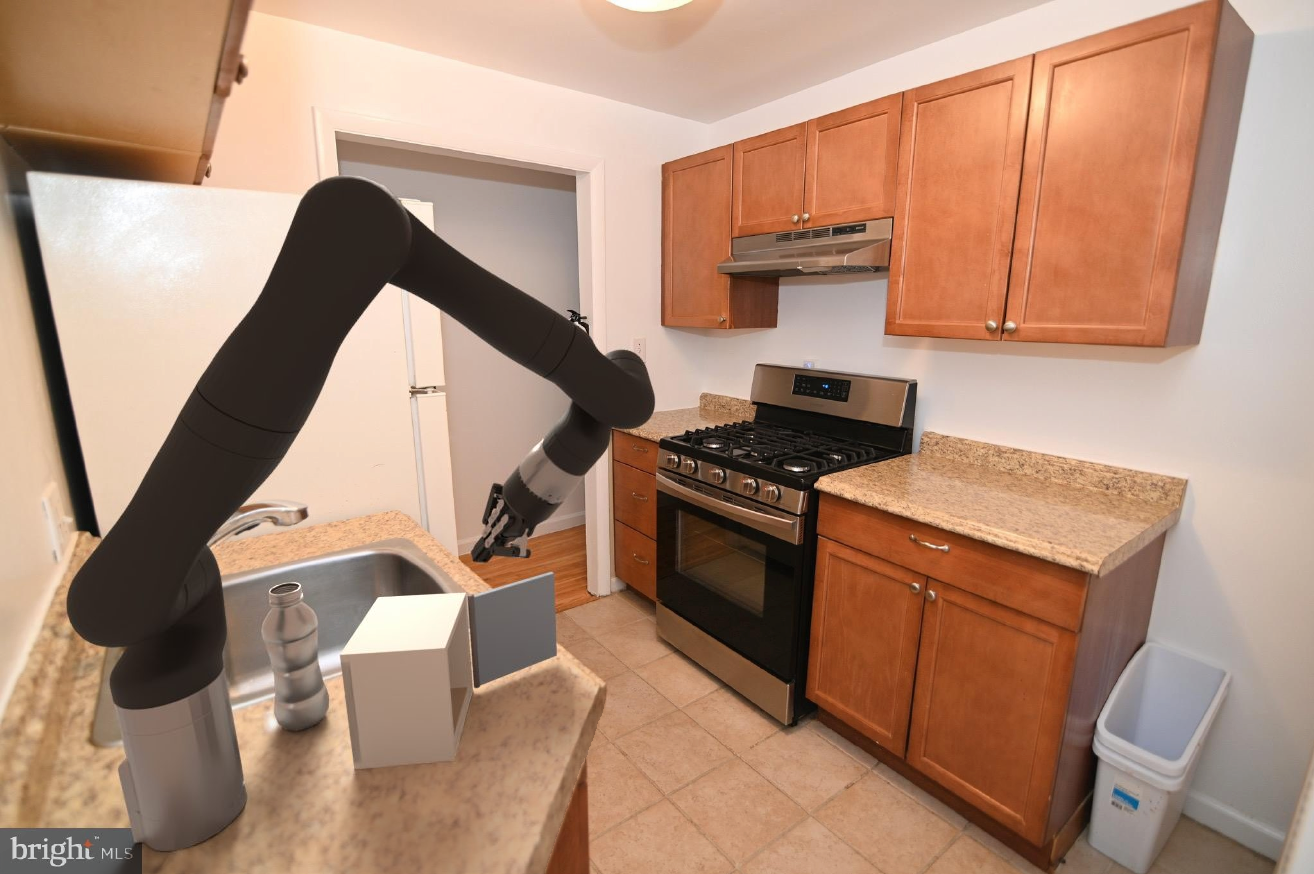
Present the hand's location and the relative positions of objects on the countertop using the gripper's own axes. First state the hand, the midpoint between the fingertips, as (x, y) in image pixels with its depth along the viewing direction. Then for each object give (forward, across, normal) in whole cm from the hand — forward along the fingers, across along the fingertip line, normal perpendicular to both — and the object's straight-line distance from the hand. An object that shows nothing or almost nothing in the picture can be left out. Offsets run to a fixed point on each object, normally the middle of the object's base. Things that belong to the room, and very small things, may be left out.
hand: (477, 558), depth 84 cm
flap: (+14, +10, +13) cm, 21 cm away
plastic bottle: (+29, +8, -12) cm, 33 cm away
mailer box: (+19, +14, -1) cm, 24 cm away
